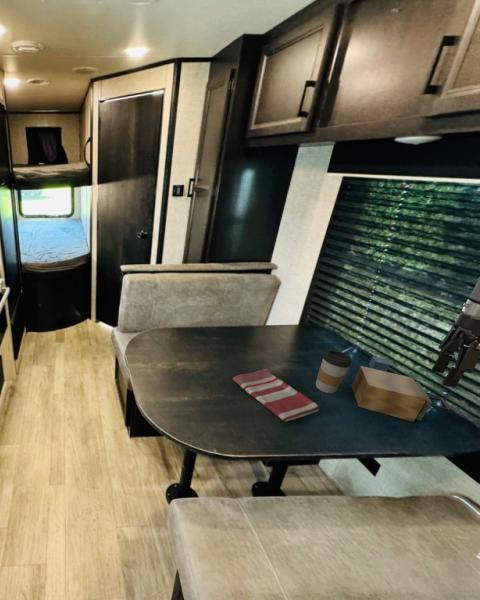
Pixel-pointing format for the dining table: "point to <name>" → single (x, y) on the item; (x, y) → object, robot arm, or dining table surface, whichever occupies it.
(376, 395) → the cabinet
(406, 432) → the dining table surface
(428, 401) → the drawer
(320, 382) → the coffee cup
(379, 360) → the block
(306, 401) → the dish towel
